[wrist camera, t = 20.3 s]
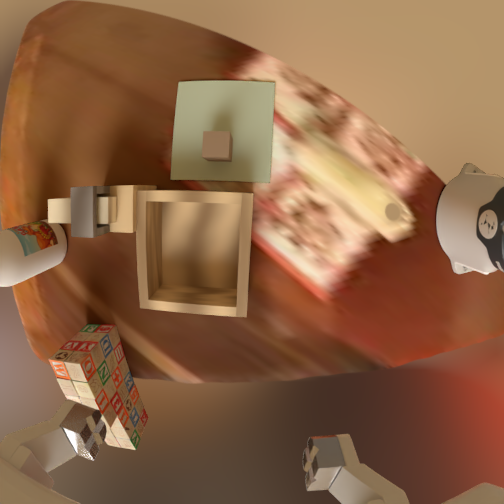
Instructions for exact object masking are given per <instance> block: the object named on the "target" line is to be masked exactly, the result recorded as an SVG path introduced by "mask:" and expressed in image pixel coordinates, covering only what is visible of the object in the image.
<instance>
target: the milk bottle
mask: <svg viewBox="0 0 504 504" xmlns="http://www.w3.org/2000/svg"><path fill="white" fill-rule="evenodd" d="M66 251H67V239H66V235H65V232H64V230H63V228H62V227H61V226H60V224H58V223H48V219H46V220H41V221H36V222H32V223H28V224H23V225H19V226H16V227H12V228H8V229H5V230H2V231H0V286H1V287H6V286H12V285H15V284H18V283H20V282H22V281H24V280H27V279H29V278H31V277H33V276H35V275H37V274H39V273H41V272H43V271H45V270H47V269H50V268H52V267H54V266H56V265H58V264H59V263H61V262H62V260H63V259H64V257H65V255H66Z"/></svg>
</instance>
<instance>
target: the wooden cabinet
mask: <svg viewBox="0 0 504 504" xmlns="http://www.w3.org/2000/svg"><path fill="white" fill-rule="evenodd" d="M253 195H254V194H253V193H247V192H226V191H198V190H157V185H122V186H87V187H71V236H72V237H90V238H94V237H97V236H99V235H102V234H105V233H108V232H128V233H133V232H136V246H137V271H138V287H139V300H140V308H145V309H154V310H163V311H172V312H183V313H194V314H206V315H219V316H234V317H246V316H247V298H248V281H249V263H250V246H251V229H252V212H253ZM114 196H117V199H116V222H114V223H110V224H97V197H114Z"/></svg>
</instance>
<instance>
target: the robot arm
mask: <svg viewBox="0 0 504 504" xmlns="http://www.w3.org/2000/svg"><path fill="white" fill-rule="evenodd" d="M436 227H437V234H438V238H439V241H440V244H441V246H442V248H443V250H444V251H445V253H446V254H447V255H448V256H449V258H450V260H451V264H452V268H453V271H454V272H455V273H457V274H462V273H466V272H470V271H473V270H475V271H478V272H480V273H483V274H489V273H490V272H494V271H496V270H498V269H499V270H501V271H503V272H504V178H503V177H500V176H498V175H494V174H486V173H484V172H483V171H481V170H480V169H479V168H477V167H476V166H475V165H473V164H470V163H466V164H465V165H464V167H463V168H462V170H461V172H460V174H459V175H458V176H457V177H455V178H454V179H452V180H451V181H450V182H449V183H448V184H447V185H446V187H445V188H444V190H443V192H442V194H441V197H440V199H439V203H438V207H437V215H436ZM101 417H102V414H101V412H100V410H97V409H94V408H91V407H89V406H86V405H83V404H81V403H78V402H75V401H73V400H70V399H68V400H66V401H65V402H64V403H63V405H62V406H61V407H60V408H59V410H58V411H57V412H56V414H55V415H54V416H53V417H52V419H51V420H50V421H44V422H41V423H39V424H36V425H33V426H31V427H28V428H25V429H22V430H19V431H16V432H13V433H10V434H7V435H6V437H5V438H4V439H3V440H2V442H1V443H0V504H80V503H78V502H76V501H73V500H71V499H69V498H67V497H65V496H63V495H61V494H59V493H57V492H55V491H53V490H52V489H51V488H52V486H53V485H54V481H53V479H52V478H51V477H50V476H49V475H48V473H47V472H49V471H51V470H53V469H54V468H56V467H58V466H60V465H61V464H63V463H65V462H66V461H68V460H70V459H71V458H73V457H75V456H76V455H80V456H83V457H85V458H88V459H91V460H94V459H95V457H96V455H97V453H98V451H99V447H98V445H99V444H101V443H103V442H104V440H105V438H106V433H107V430H106V425H105V423H104V422H103V421H102V420H101ZM303 467H304V470H305V471H306V472H307V475H306V477H305V480H306V487H307V491H313V490H325V489H329V491H330V492H331V493H332V494H333V495H334V496H335V497H336V498H337V499H338V500H339V501H340V502H341V503H342V504H409V501H408V499H407V497H406V494H405V492H404V491H403V490H401V489H400V488H398V487H397V486H395V485H394V484H392V483H391V482H389V481H388V480H386V479H385V478H383V477H382V476H380V475H379V474H377V473H376V472H374V471H373V470H372V469H370V468H369V467H367V466H366V465H365V464H360V463H359V460H358V457H357V454H356V451H355V449H354V445H353V443H352V440H351V437H350V435H349V434H343V435H330V436H316V437H310V438H309V440H308V447H307V448H306V449H305V451H304V455H303ZM442 504H504V489H503V488H500V487H498V486H495V485H493V484H489V483H482V484H479V485H477V486H475V487H473V488H472V489H470V490H468V491H466V492H464V493H462V494H460V495H458V496H457V497H454V498H452V499H450V500H449V501H446V502H444V503H442Z"/></svg>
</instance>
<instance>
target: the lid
mask: <svg viewBox="0 0 504 504" xmlns="http://www.w3.org/2000/svg"><path fill="white" fill-rule="evenodd" d="M274 92H275V83H273V82H258V81H187V82H179V85H178V93H177V102H176V111H175V121H174V132H173V145H172V160H171V179H170V180H213V181H240V182H259V183H270V172H271V153H272V134H273V114H274Z"/></svg>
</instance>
